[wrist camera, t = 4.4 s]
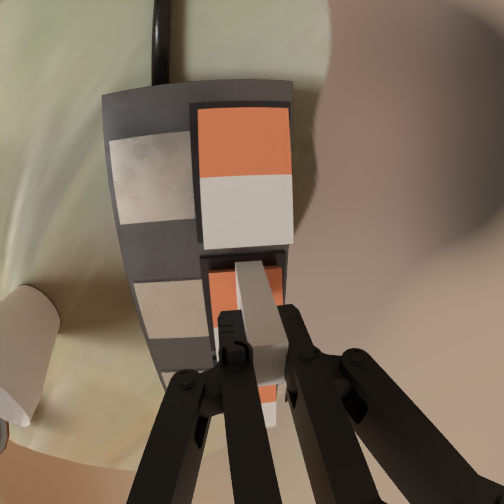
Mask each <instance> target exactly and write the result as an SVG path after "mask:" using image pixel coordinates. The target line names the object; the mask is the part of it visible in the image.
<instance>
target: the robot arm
mask: <svg viewBox="0 0 504 504" xmlns="http://www.w3.org/2000/svg"><path fill="white" fill-rule="evenodd" d="M235 273H236V295H237V306H238V310H229V311H221V312H220V314H219V316H218V318H217V320H218V337H219V350H218V355H219V361H218V363H217V364H216V365H215V366H214V367H213V368H211V369H209V370H207V371H204V372H201V373H199V372H198V371H196V370H192V369H183V370H180V371H178V372H176V373H175V374H174V375H173V376H172V378H171V379H170V382H169V385H168V387H167V390H166V393H165V395H164V398H163V401H162V403H161V406H160V409H159V411H158V414H157V417H156V419H155V422H154V425H153V428H152V430H151V433H150V436H149V439H148V442H147V444H146V447H145V450H144V453H143V456H142V459H141V461H140V464H139V467H138V470H137V473H136V476H135V479H134V482H133V485H132V488H131V491H130V494H129V497H128V500H127V503H126V504H191V502H192V498H193V493H194V490H195V485H196V481H197V477H198V472H199V468H200V463H201V460H202V455H203V451H204V447H205V442H206V438H207V434H208V430H209V425H210V421H211V417H212V416H214V415H217V414H220V413H223V412H224V418H225V428H226V438H227V447H228V455H229V463H230V472H231V480H232V487H233V495H234V502H235V504H282V500H281V496H280V491H279V487H278V482H277V477H276V473H275V468H274V464H273V459H272V454H271V450H270V445H269V440H268V435H267V430H266V425H265V420H264V415H263V410H262V405H261V400H260V395H259V390H258V387H260V386H268V385H276V384H283V383H284V378H285V380H286V384H287V387H286V394H285V402H287V401H289V405H290V409H291V412H292V416H293V420H294V424H295V428H296V431H297V435H298V439H299V443H300V446H301V450H302V454H303V457H304V461H305V465H306V469H307V472H308V476H309V479H310V483H311V487H312V491H313V494H314V498H315V502H316V504H387V503H385V502H384V501H382V500H381V499H380V497H379V494H378V491H377V489H376V486H375V483H374V481H373V478H372V476H371V473H370V470H369V468H368V465H367V462H366V460H365V458H364V455H363V452H362V450H361V447H360V444H359V442H358V439H357V437H356V434H357V435H358V436H359V438H360V439H361V440H362V442H363V443H364V444H365V446H366V447H367V448H368V450H369V451H370V452H371V454H372V455H373V456H374V458H375V459H376V460H377V461H378V463H379V464H380V465H381V467H382V468H383V469H384V471H385V472H386V473H387V475H388V476H389V477H390V479H391V480H392V481H393V482H394V484H395V485H396V486H397V487H398V489H399V490H400V491H401V493H402V494H403V495H404V496H405V498H406V499H407V500H408V501H409V503H410V504H504V486H502V485H500V484H498V483H495V482H493V481H491V480H489V479H486V478H484V477H482V476H480V475H478V474H477V473H476V472H475V471H474V469H473V468H472V467H471V466H470V465H469V464H468V463H467V461H466V460H465V459H464V458H463V457H462V456H461V455H460V454H459V452H458V451H457V450H456V449H455V448H454V447H453V446H452V445H451V443H450V442H449V441H448V440H447V439H446V438H445V437H444V436H443V435H442V433H441V432H440V431H439V430H438V429H437V428H436V427H435V426H434V425H433V423H432V422H431V421H430V420H429V419H428V418H427V417H426V416H425V415H424V414H423V413H422V411H421V410H420V409H419V408H418V407H417V406H416V405H415V404H414V403H413V401H412V400H411V399H410V398H409V397H408V396H407V395H406V394H405V393H404V392H403V391H402V390H401V388H400V387H399V386H398V385H397V384H396V383H395V382H394V381H393V380H392V379H391V378H390V377H389V375H388V374H387V373H386V372H385V371H384V370H383V369H382V368H381V367H380V366H379V365H378V364H377V362H375V360H374V359H373V358H372V357H371V356H370V355H369V354H368V353H367V352H365V351H364V350H361V349H358V348H352V349H348V350H346V351H345V352H344V353H343V355H342V356H337V355H327V354H324V353H322V352H321V351H320V350H319V349H318V348H317V347H315V346H314V345H313V343H312V341H311V338H310V336H309V333H308V331H307V329H306V326H305V324H304V321H303V319H302V317H301V314H300V312H299V310H298V309H297V308H296V307H295V306H294V305H293V304H287V305H278V306H276V303H275V300H274V297H273V294H272V291H271V288H270V285H269V282H268V279H267V276H266V273H265V270H264V267H263V264H262V261H247V262H235ZM354 431H355V432H356V434H355V432H354Z"/></svg>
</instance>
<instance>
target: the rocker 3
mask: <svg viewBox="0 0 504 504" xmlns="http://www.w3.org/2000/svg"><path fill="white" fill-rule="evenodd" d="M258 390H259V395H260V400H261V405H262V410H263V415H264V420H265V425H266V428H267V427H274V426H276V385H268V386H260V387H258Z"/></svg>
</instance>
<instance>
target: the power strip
mask: <svg viewBox="0 0 504 504" xmlns="http://www.w3.org/2000/svg"><path fill="white" fill-rule="evenodd" d="M170 13H171V0H154V10H153V28H152V86H149V87H142V88H136V89H130V90H125V91H120V92H115V93H110V94H105V95H102V117H103V132H104V145H105V155H106V164H107V173H108V180H109V187H110V194H111V201H112V207H113V213H114V218H115V224H116V229H117V234H118V239H119V244H120V248H121V253H122V257H123V261H124V266H125V270H126V274H127V278H128V282H129V285H130V289H131V293H132V297H133V300H134V304H135V307H136V310H137V314H138V317H139V320H140V324H141V327H142V330H143V333H144V336H145V339H146V342H147V345H148V348H149V351H150V354H151V356H152V359H153V362H154V365H155V367H156V370H157V373H158V375H159V378H160V380H161V383H162V385H163V388H164V390H165V393H166V390H167V387H168V385H169V382H170V379H171V378H172V376H173V375H174V374H175V373H176V372H178V371H180V370H183V369H192V370H196V371H198V372H199V373H201V372H204V371H207V370H209V369H211V368H213V367H214V366H215V365H216V364H217V355H216V346H215V337H214V328H213V318H212V307H211V296H210V285H209V270H221V269H235V262H247V261H262V264H263V266H276V265H278V266H279V267H281V268H282V289H283V305H285V293H286V279H287V263H288V245H289V244H283V245H267V246H252V247H237V248H222V249H207V250H204V241H203V227H202V211H201V193H200V171H199V142H198V109H211V108H237V107H269V108H288V113H289V129H290V146H291V167H292V126H293V81H282V80H253V79H237V80H208V81H193V82H181V83H172V84H169V41H170ZM277 387H278V384H276V396H277ZM223 413H224V412H223ZM223 413H220V414H223Z"/></svg>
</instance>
